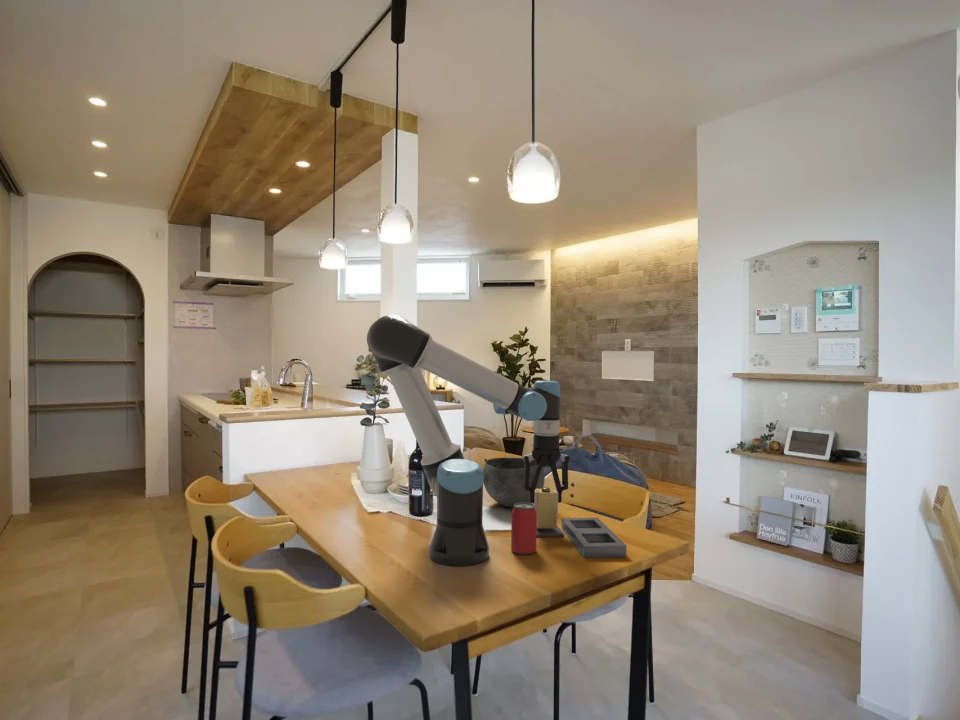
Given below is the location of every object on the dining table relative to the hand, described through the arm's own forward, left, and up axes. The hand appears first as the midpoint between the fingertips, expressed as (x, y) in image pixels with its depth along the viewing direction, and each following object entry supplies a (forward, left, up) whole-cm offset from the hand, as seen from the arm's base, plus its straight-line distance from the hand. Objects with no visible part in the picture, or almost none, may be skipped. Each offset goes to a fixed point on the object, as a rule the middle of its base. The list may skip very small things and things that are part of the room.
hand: (545, 513), depth 161 cm
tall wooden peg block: (0, 0, -3) cm, 3 cm away
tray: (+11, -9, -5) cm, 15 cm away
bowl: (-5, +28, -6) cm, 29 cm away
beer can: (-9, -15, -6) cm, 18 cm away
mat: (0, 0, -5) cm, 5 cm away
